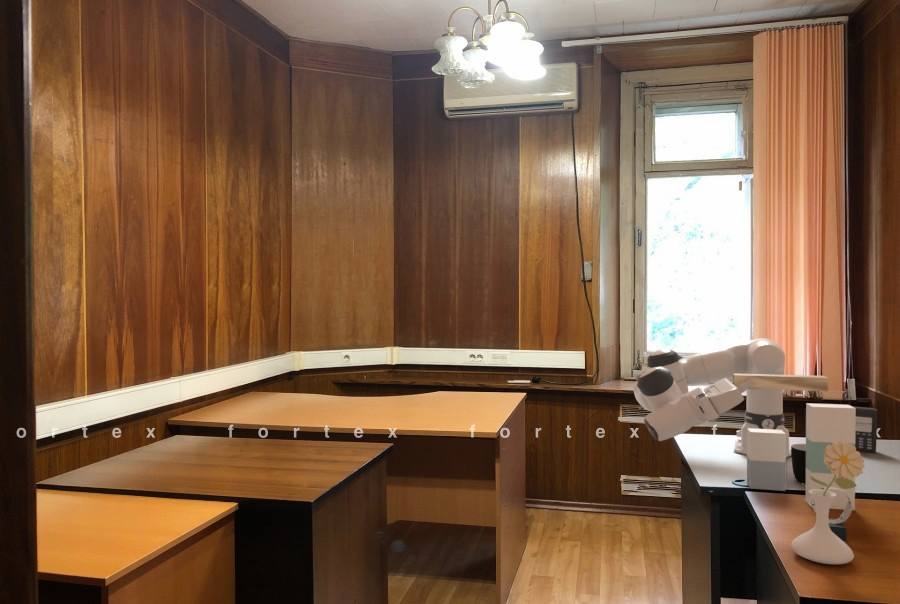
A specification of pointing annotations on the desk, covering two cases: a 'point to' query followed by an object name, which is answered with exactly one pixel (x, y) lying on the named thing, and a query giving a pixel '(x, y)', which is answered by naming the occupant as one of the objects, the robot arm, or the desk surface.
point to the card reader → (866, 429)
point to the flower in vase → (820, 538)
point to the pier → (766, 459)
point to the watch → (837, 524)
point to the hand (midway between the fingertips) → (751, 379)
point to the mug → (799, 462)
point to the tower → (820, 432)
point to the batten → (784, 382)
